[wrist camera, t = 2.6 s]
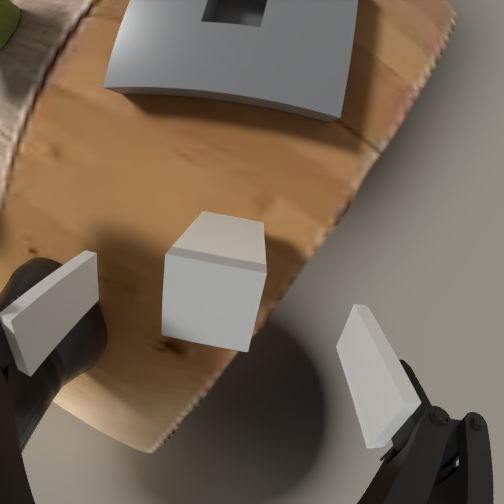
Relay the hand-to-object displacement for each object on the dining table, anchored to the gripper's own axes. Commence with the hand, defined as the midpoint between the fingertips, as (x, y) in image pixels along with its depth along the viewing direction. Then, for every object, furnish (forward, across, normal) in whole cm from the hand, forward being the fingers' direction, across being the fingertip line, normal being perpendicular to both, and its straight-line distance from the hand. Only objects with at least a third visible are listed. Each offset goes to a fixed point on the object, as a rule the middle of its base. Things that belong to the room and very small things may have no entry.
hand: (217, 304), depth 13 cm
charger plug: (+12, 0, 0) cm, 12 cm away
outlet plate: (+12, +4, -19) cm, 23 cm away
